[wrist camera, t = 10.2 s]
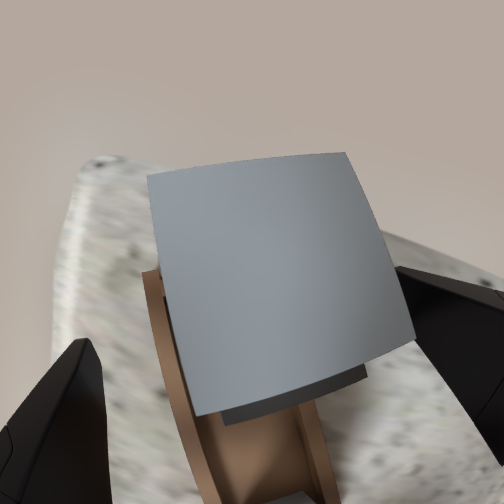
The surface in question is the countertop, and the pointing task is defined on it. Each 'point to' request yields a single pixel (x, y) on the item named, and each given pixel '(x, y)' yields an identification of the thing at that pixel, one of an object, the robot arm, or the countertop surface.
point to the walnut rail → (242, 436)
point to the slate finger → (274, 281)
